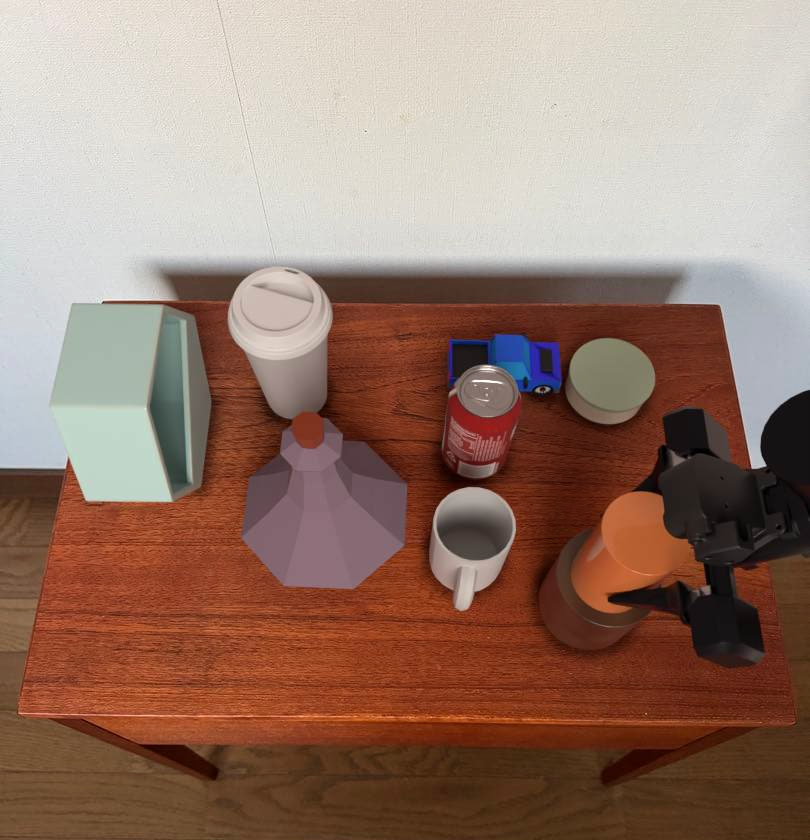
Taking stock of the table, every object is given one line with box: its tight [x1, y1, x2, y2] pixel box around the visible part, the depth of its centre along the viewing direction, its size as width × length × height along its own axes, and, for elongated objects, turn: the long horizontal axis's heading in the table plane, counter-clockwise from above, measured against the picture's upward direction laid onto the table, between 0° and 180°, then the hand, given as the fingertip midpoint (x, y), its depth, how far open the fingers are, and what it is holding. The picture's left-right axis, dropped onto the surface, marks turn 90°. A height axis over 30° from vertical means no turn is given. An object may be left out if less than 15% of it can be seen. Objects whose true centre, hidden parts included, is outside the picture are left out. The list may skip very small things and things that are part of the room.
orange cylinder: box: [571, 491, 693, 613], centre depth 58 cm, size 7×7×10 cm
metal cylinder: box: [537, 528, 663, 651], centre depth 66 cm, size 9×9×8 cm
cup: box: [428, 486, 517, 612], centre depth 67 cm, size 7×10×9 cm
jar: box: [564, 337, 656, 425], centre depth 78 cm, size 9×9×3 cm
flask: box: [240, 412, 408, 590], centre depth 63 cm, size 16×16×20 cm
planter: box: [49, 302, 212, 503], centre depth 68 cm, size 17×8×21 cm
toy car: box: [446, 331, 562, 397], centre depth 77 cm, size 7×12×5 cm, turn 89°
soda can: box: [441, 365, 523, 481], centre depth 70 cm, size 7×7×12 cm
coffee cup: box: [227, 265, 334, 421], centre depth 72 cm, size 10×10×15 cm
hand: (606, 559), depth 58 cm, fingers closed on orange cylinder, 6 cm apart
